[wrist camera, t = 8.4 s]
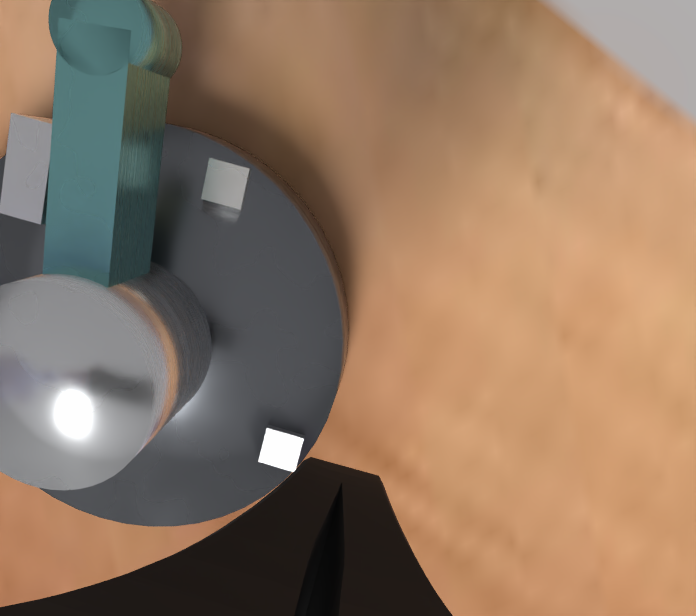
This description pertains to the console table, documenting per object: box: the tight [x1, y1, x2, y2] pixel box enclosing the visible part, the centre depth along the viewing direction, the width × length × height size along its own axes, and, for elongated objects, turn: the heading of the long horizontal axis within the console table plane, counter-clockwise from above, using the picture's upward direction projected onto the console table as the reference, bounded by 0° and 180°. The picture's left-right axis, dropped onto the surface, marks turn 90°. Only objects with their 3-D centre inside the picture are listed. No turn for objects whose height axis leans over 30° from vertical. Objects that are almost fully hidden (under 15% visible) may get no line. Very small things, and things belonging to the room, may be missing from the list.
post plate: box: [0, 113, 349, 526], centre depth 15 cm, size 11×11×4 cm
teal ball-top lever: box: [0, 0, 212, 490], centre depth 13 cm, size 10×4×4 cm, turn 169°
